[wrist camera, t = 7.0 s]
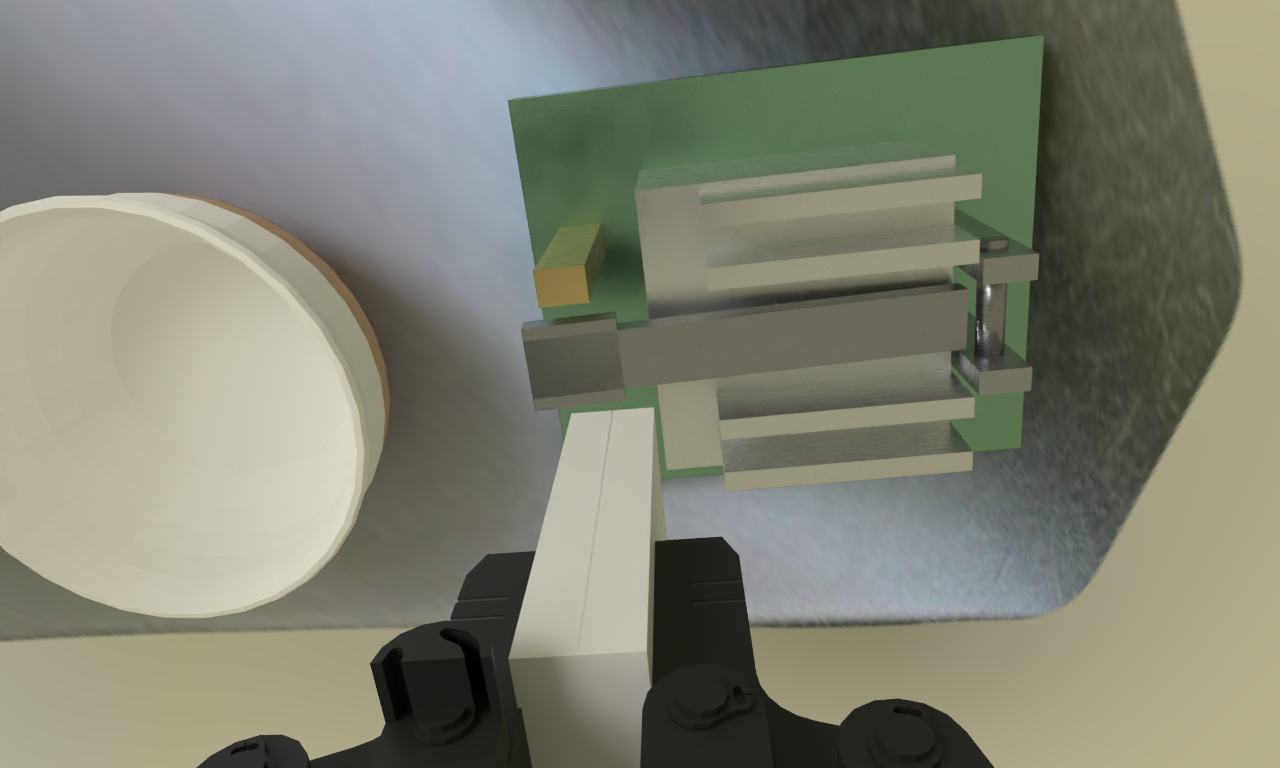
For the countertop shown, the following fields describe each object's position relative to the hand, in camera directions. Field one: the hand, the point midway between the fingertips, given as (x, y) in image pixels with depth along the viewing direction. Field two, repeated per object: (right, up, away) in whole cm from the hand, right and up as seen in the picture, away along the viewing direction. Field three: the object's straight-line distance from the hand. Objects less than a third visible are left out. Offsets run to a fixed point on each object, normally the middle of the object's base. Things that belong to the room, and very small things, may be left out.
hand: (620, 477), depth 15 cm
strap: (+4, +3, +12) cm, 13 cm away
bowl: (-17, +3, +21) cm, 27 cm away
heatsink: (+6, +6, +19) cm, 21 cm away
